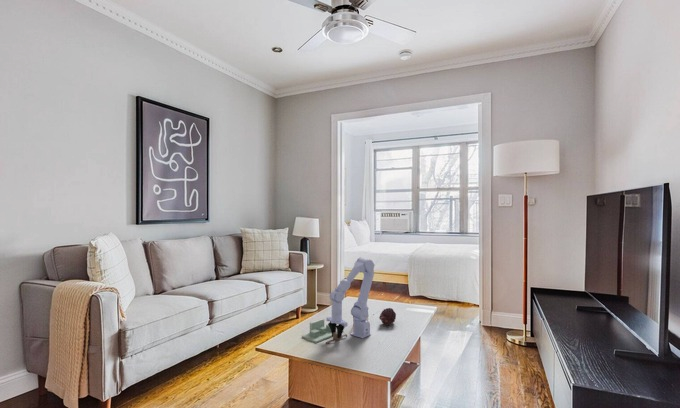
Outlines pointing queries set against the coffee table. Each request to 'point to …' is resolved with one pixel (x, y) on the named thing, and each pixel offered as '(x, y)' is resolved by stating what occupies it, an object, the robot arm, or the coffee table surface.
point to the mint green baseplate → (318, 331)
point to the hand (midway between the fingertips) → (336, 336)
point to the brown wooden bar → (336, 338)
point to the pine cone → (388, 316)
